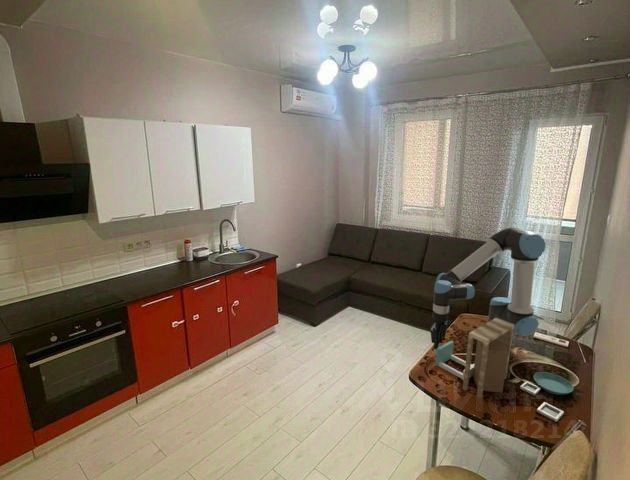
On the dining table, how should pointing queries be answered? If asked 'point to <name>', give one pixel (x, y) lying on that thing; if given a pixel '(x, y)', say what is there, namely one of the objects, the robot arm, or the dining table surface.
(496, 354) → the wooden block
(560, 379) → the saucer
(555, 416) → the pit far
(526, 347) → the dining table surface
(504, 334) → the beige tall open frame
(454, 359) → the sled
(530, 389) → the pit side
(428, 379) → the dining table surface
